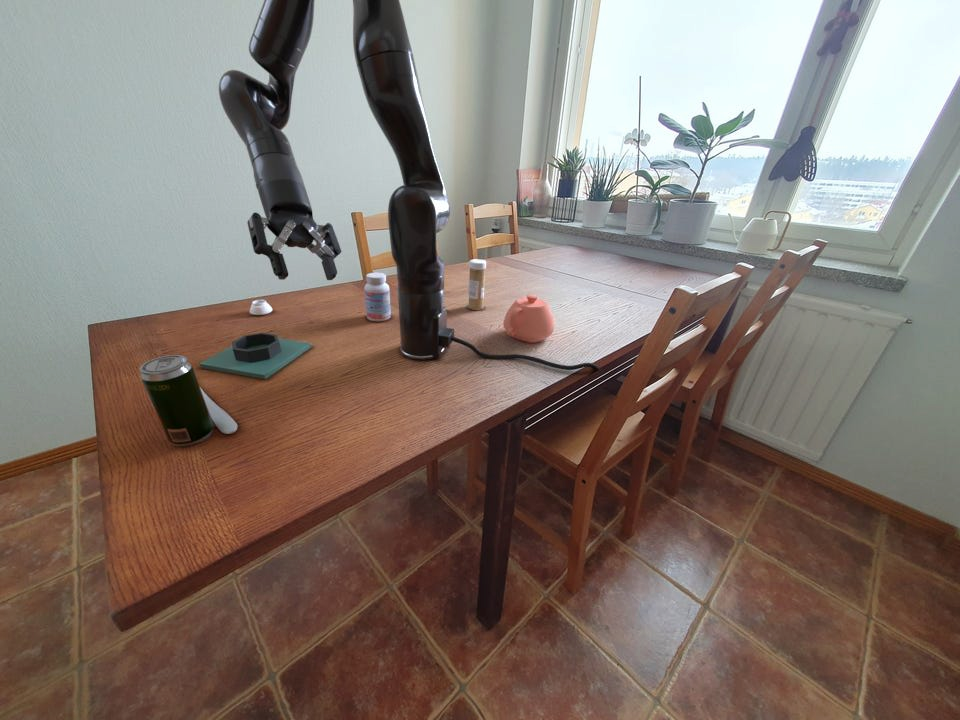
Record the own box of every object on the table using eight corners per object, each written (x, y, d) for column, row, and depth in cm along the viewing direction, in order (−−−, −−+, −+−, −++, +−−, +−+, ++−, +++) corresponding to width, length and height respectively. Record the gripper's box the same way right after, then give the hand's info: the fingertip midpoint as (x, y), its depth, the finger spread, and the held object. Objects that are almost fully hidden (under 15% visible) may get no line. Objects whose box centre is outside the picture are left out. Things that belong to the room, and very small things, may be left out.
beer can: (210, 444, 53) (182, 371, 47) (164, 451, 51) (129, 376, 45) (218, 421, 57) (194, 352, 52) (176, 427, 56) (146, 356, 50)
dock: (311, 347, 80) (309, 332, 79) (265, 379, 68) (261, 363, 67) (254, 338, 83) (251, 323, 81) (200, 368, 71) (194, 351, 69)
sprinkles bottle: (486, 309, 106) (489, 261, 100) (473, 311, 104) (475, 263, 98) (477, 304, 110) (480, 258, 103) (464, 306, 107) (466, 259, 101)
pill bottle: (362, 319, 95) (357, 276, 90) (376, 311, 100) (373, 270, 95) (382, 323, 93) (378, 279, 88) (395, 316, 98) (393, 273, 93)
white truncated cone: (246, 315, 93) (266, 316, 93) (243, 304, 92) (263, 305, 92) (257, 308, 98) (276, 309, 98) (254, 297, 96) (273, 299, 96)
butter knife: (217, 436, 53) (240, 426, 55) (166, 370, 69) (185, 364, 71) (219, 439, 54) (241, 429, 56) (167, 372, 69) (186, 366, 71)
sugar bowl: (561, 336, 92) (568, 297, 87) (528, 353, 83) (533, 310, 78) (522, 321, 99) (526, 284, 94) (487, 336, 90) (490, 295, 85)
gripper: (244, 167, 57) (275, 267, 56) (330, 186, 68) (356, 270, 67) (229, 194, 61) (257, 287, 61) (311, 208, 72) (336, 286, 72)
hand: (309, 278), depth 64 cm, fingers open, 8 cm apart
